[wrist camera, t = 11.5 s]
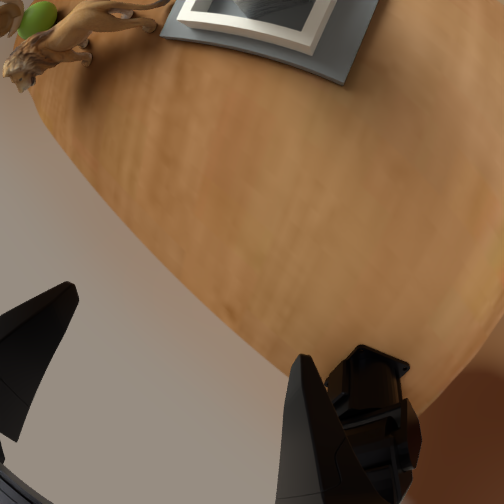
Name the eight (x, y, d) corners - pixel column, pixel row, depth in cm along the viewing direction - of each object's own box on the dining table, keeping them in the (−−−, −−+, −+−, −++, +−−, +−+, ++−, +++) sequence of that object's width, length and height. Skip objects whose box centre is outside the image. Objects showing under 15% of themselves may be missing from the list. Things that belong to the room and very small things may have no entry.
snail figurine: (73, -7, 13) (-3, -18, 3) (57, 36, 16) (-25, 35, 6) (51, 4, 14) (-18, -1, 4) (37, 44, 17) (-35, 47, 7)
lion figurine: (66, 95, 19) (-4, 102, 12) (62, 57, 18) (-3, 57, 10) (178, 20, 14) (102, -17, 7) (169, -19, 13) (102, -57, 5)
